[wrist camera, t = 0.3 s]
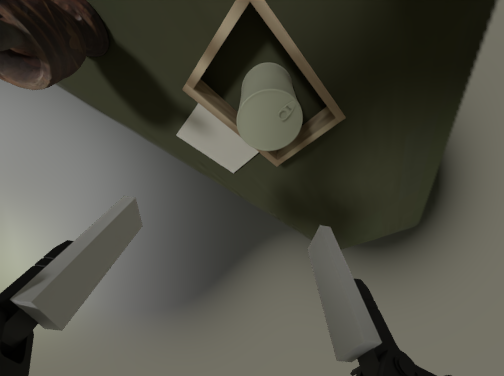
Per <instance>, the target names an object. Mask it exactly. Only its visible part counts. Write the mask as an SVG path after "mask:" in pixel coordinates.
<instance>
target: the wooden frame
mask: <svg viewBox="0 0 504 376" xmlns="http://www.w3.org/2000/svg"><path fill="white" fill-rule="evenodd" d="M249 2H251V3H252V5H253V6H254V8H255V9H256V10H257V12H258V13H259V14H260V16H261V17H262V18H263V20H264V21H265V22H266V24H267V25H268V27H269V28H270V29H271V31H272V32H273V33H274V35H275V36H276V37H277V39H278V40H279V41H280V43H281V44H282V46H283V47H284V48H285V50H286V51H287V52H288V54H289V55H290V56H291V58H292V59H293V60H294V62H295V63H296V65H297V66H298V67H299V69H300V70H301V71H302V73H303V74H304V75H305V77H306V78H307V79H308V81H309V82H310V84H311V85H312V86H313V88H314V89H315V90H316V92H317V93H318V94H319V96H320V97H321V98H322V100H323V101H324V103H325V104H326V105H327V107H325V108H324V109H323V110H321V111H320V112H319V113H318V114H316V115H315V116H314V117H313V118H311V119H310V120H309V121H308V122H306V123H305V124H304V125H303V126H301V129H300V132H299V133H298V135H297V136H296V138H295V139H294V140H293V141H292V142H291V143H290V144H288V145H287V146H285V147H283V148H281V149H278V150H274V151H262V150H258V149H256V150H257V151H258V152H260V153H261V154H262V155H263V156H265V157H266V158H267V159H268V160H269V161H271V162H272V163H273V164H274V165H276V166H278V165H280V164H281V163H283V162H284V161H285V160H287V159H288V158H290V157H291V156H292V155H294V154H295V153H297V152H298V151H300V150H301V149H302V148H304V147H305V146H307V145H308V144H309V143H311V142H312V141H314V140H315V139H317V138H318V137H319V136H321V135H322V134H324V133H325V132H326V131H328V130H329V129H331V128H332V127H333V126H335V125H336V124H338V123H339V122H341V121H342V120H343V119H345V118H346V117H345V116H344V114H343V113H342V111H341V110H340V108H339V107H338V105H337V104H336V102H335V101H334V100H333V98H332V97H331V95H330V94H329V92H328V91H327V89H326V88H325V87H324V85H323V84H322V82H321V81H320V79H319V78H318V76H317V75H316V74H315V72H314V71H313V69H312V68H311V66H310V65H309V63H308V62H307V61H306V59H305V58H304V56H303V55H302V53H301V52H300V51H299V49H298V48H297V46H296V45H295V43H294V42H293V40H292V39H291V38H290V36H289V35H288V33H287V32H286V30H285V29H284V27H283V26H282V25H281V23H280V22H279V20H278V19H277V17H276V16H275V14H274V13H273V12H272V10H271V9H270V7H269V6H268V4H267V3H266V1H265V0H236V1H235V3H234V4H233V6H232V8H231V9H230V11H229V13H228V14H227V16H226V18H225V19H224V21H223V23H222V24H221V26H220V28H219V29H218V31H217V33H216V34H215V36H214V38H213V39H212V41H211V43H210V44H209V46H208V48H207V49H206V51H205V53H204V54H203V56H202V58H201V59H200V61H199V63H198V64H197V66H196V68H195V69H194V71H193V73H192V74H191V76H190V77H189V79H188V81H187V82H186V84H185V86H184V87H183V89H182V90H183V91H184V92H186V93H187V94H188V95H189V96H191V97H192V98H193V99H194V100H196V101H197V102H198V103H199V104H200V105H202V106H203V107H204V108H205V109H207V110H208V111H209V112H210V113H212V114H213V115H214V116H215V117H216V118H218V119H219V120H220V121H221V122H223V123H224V124H225V125H226V126H228V127H229V128H230V129H231V130H232V131H234V132H235V133H236V134H237V135H239V136H240V134H239V132H238V129H237V122H236V121H237V114H238V112H237V111H236V110H235V109H233V108H232V107H231V106H230V105H229V104H228V103H227V102H226V101H224V100H223V99H222V98H221V97H220V96H219V95H218V94H217V93H216V92H214V91H213V90H212V89H211V88H210V87H209V86H208V85H207V84H205V83H204V82H203V81H202V80H201V79H200V78H201V77H202V75H203V73H204V72H205V70H206V69H207V67H208V66H209V64H210V63H211V61H212V60H213V58H214V56H215V55H216V53H217V52H218V50H219V49H220V47H221V46H222V44H223V42H224V41H225V39H226V38H227V36H228V35H229V33H230V32H231V30H232V29H233V27H234V25H235V24H236V22H237V21H238V19H239V18H240V16H241V15H242V13H243V12H244V10H245V8H246V7H247V5H248V4H249ZM240 137H241V136H240Z"/></svg>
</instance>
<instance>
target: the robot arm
mask: <svg viewBox="0 0 504 376" xmlns="http://www.w3.org/2000/svg"><path fill="white" fill-rule="evenodd" d="M141 227H142V222H141V218H140V214H139V210H138V206H137V202H136V198H135V197H128V196H123V197H122V198H121V199H120V200H119V201H118V202H117V203H116V204H115V205H114V206H113V207H111V208H110V209H109V210H108V211H107V212H106V213H105V214H104V215H103V216H101V217H100V218H99V219H98V220H97V221H96V222H95V223H94V224H92V226H90V227H89V228H88V229H87V230H86V231H85V232H84V233H83V234H82V235H80V236H79V237H78V238H77V239H76V240H75V241H68V240H67V241H65V242H64V243H62V244H60V245H58V246H56V247H55V248H53V249H52V250H51V251H50V252H49V253H48V254H46V255H45V256H44V258H43V259H41V260H39V261H38V262H37V263H36V264H35V266H32V267H31V268H30V269H29V270H28V271H26V272H25V273H24V274H23V275H22V276H20V277H19V278H18V279H17V280H16V281H15V282H13V283H12V284H11V285H10V286H9V287H7V288H6V289H5V290H4V291H3V292H2V293H0V376H28V375H29V368H30V360H31V352H32V345H33V338H34V334H33V329H34V328H35V327H36V325H37V324H40V325H41V326H42V327H43V328H45V329H53V330H63V329H64V327H65V326H66V325H67V323H68V322H69V321H70V320H71V318H72V317H73V316H74V314H75V313H76V312H77V311H78V309H79V308H80V307H81V305H82V304H83V303H84V301H85V300H86V299H87V298H88V296H89V295H90V294H91V292H92V291H93V290H94V288H95V287H96V286H97V284H98V283H99V282H100V280H101V279H102V278H103V277H104V275H105V274H106V273H107V272H108V270H109V269H110V268H111V266H112V265H113V264H114V262H115V261H116V260H117V258H118V257H119V256H120V255H121V253H122V252H123V251H124V249H125V248H126V247H127V246H128V244H129V243H130V242H131V240H132V239H133V238H134V236H135V235H136V234H137V233H138V231H139V230H140V229H141ZM308 253H309V257H310V261H311V265H312V268H313V272H314V276H315V280H316V284H317V287H318V291H319V294H320V299H321V302H322V306H323V310H324V314H325V318H326V321H327V325H328V329H329V333H330V337H331V341H332V344H333V348H334V352H335V356H336V359H337V361H345V362H352V361H354V360H356V359H358V362H359V365H360V366H359V367H357V368H355V369H354V370H352V372H351V375H352V376H353V375H355V374H356V376H436V375H434V374H432V373H430V372H428V371H426V370H424V369H422V368H420V367H418V366H417V365H415V364H414V362H413V361H412V360H411V359H410V358H409V357H408V356H407V355H406V354H405V353H404V352H402V351H400V349H399V348H398V346H397V345H396V343H395V341H394V339H393V337H392V335H391V333H390V331H389V329H388V327H387V325H386V323H385V321H384V319H383V317H382V315H381V313H380V311H379V310H378V307H377V305H376V303H375V301H374V300H373V297H372V295H371V293H370V291H369V289H368V288H367V286H366V285H365V284H364V283H363V281H362V280H360V279H353V277H352V275H351V272H350V270H349V268H348V266H347V263H346V261H345V259H344V257H343V255H342V252H341V250H340V248H339V245H338V243H337V241H336V239H335V237H334V234H333V232H332V230H331V228H330V227H328V226H321V225H320V226H319V228H318V230H317V232H316V234H315V236H314V238H313V240H312V242H311V244H310V246H309V248H308ZM446 376H451V375H446Z"/></svg>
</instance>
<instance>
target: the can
mask: <svg viewBox="0 0 504 376" xmlns="http://www.w3.org/2000/svg"><path fill="white" fill-rule="evenodd" d="M241 94H242V95H241V101H240V106H239V110H238V114H237V121H236V122H237V129H238V132H239V134H240V136H241V138H242V139H243V140H244V141H245V142H246V143H247V144H248V145H249V146H251V147H253V148H255V149H258V150H262V151H274V150H278V149H281V148H283V147H285V146H287V145H288V144H290V143H291V142H292V141H293V140H294V139H295V138H296V136H297V135H298V133H299V132H300V129H301V126H302V122H303V114H302V109H301V107H300V104H299V103H298V101H297V98H296V95H295V92H294V89H293V84H292V80H291V77H290V75H289V74H288V72H287V71H286V70H285V69H284V68H283V67H282V66H280V65H278V64H275V63H269V62H268V63H261V64H259V65H257V66H255V67H253V68H252V69H251V70H250V71H249V72H248V73H247V75H246V76H245V78H244V81H243V84H242V89H241Z"/></svg>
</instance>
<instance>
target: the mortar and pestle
mask: <svg viewBox="0 0 504 376" xmlns="http://www.w3.org/2000/svg"><path fill="white" fill-rule="evenodd" d="M108 47H109V40H108V35H107V32H106V29H105V27H104V25H103V23H102V20H101V19H100V17H99V15H98V14H97V13H96V11H95V10H94V9H93V8H92V7H91V5H90V4H89V3H88V2H87V1H86V0H0V79H2V80H4V81H6V82H9V83H11V84H13V85H16V86H18V87H22V88H26V89H31V90H38V89H45V88H47V87H50V86H52V85H54V84H55V83H58V82H59V81H61V80H62V79H64V78H67V77H69V76H71V75H72V74H73V73H75V72H76V71H77V70H78V69H79V68H80V67H81V65H82V63H83V62H84V60H85V58H86V56H93V57H98V56H102V55H104V54H105V53H106V52H107V49H108Z"/></svg>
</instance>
